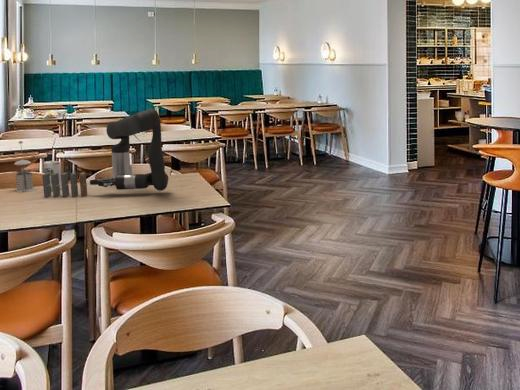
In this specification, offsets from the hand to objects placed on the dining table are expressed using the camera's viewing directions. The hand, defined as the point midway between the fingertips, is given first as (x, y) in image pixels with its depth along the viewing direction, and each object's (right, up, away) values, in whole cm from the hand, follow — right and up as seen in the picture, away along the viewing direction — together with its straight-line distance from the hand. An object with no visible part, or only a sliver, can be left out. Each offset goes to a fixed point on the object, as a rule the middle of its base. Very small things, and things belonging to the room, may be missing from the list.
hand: (90, 182), depth 270 cm
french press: (-38, -4, +16) cm, 41 cm away
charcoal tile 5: (-21, -7, 0) cm, 22 cm away
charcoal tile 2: (-8, -7, +1) cm, 10 cm away
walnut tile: (-3, -6, +1) cm, 7 cm away
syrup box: (-23, -4, +16) cm, 29 cm away
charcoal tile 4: (-16, -7, +1) cm, 18 cm away
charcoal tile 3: (-12, -7, +1) cm, 14 cm away
